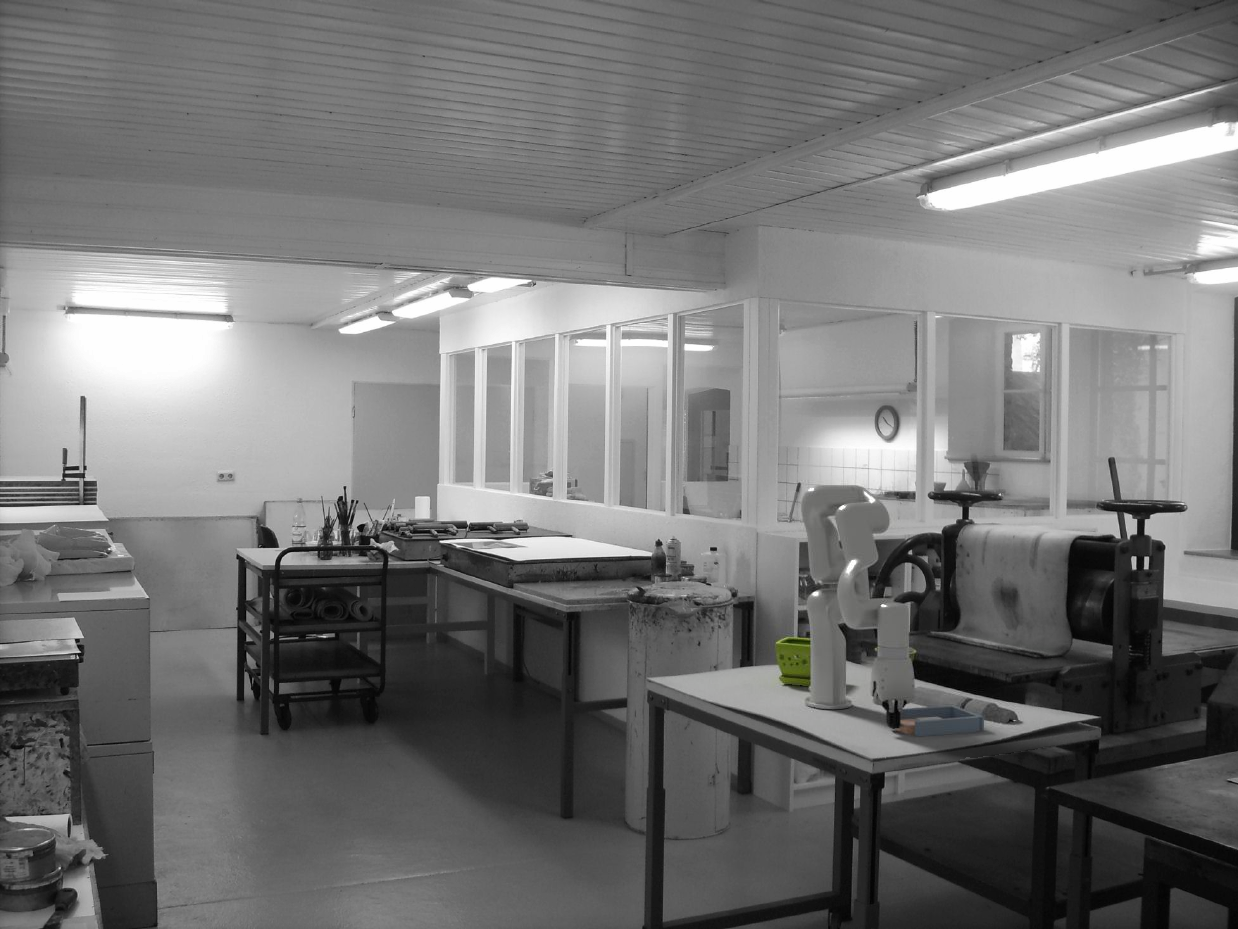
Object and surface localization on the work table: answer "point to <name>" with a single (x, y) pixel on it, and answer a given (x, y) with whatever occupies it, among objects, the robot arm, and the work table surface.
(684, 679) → the work table surface
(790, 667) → the flower pot
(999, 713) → the mechanical component
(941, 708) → the box
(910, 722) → the terracotta tile
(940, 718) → the cream tile
